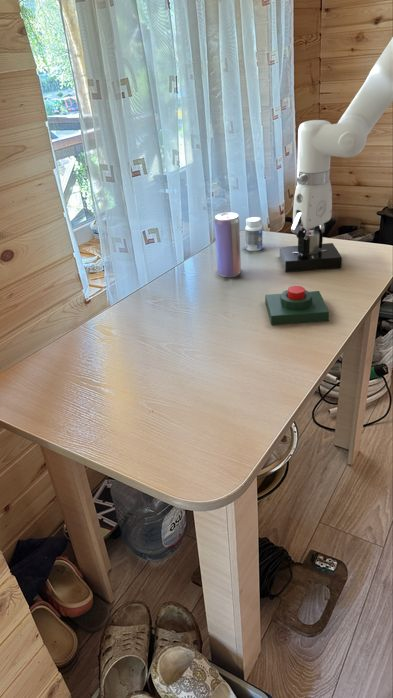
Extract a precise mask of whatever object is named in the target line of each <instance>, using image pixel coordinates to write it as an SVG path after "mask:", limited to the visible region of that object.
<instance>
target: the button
mask: <svg viewBox="0 0 393 698" xmlns="http://www.w3.org/2000/svg"><path fill="white" fill-rule="evenodd" d="M287 290H288V298H289V299H292V300H301V299H304V298H305V290H306V289H305V287H303V286H300V285H292V286H289V287H288V289H287Z"/></svg>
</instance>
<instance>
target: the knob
mask: <svg viewBox="0 0 393 698" xmlns="http://www.w3.org/2000/svg"><path fill="white" fill-rule="evenodd" d="M302 231H303V232H304V233H305V230H302ZM319 236H320V233H319V232H318V231H316V230H313V229H310V231H309V236H308V239H310V246H309V254H308V255H314V254H317V253H318V252H319Z"/></svg>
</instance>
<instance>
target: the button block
mask: <svg viewBox="0 0 393 698" xmlns="http://www.w3.org/2000/svg"><path fill="white" fill-rule="evenodd" d="M264 298H265V299H264V303H265V306H266V311H267V315H268V318H269V322H270V326H278V325H292V324H293V325H294V324H305V323H308V324H309V323H320V322H329V320H330V311H329V309H328V306H327V304H326V302H325V300H324V298H323V296H322V294H321V292H320V290H311V291H308V290H306V289H305V298H304V299H301V300H292V299H289V298H288V289H286V290H284V291H282V292H281V293H272V294H271V293H270V294H265V296H264Z"/></svg>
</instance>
